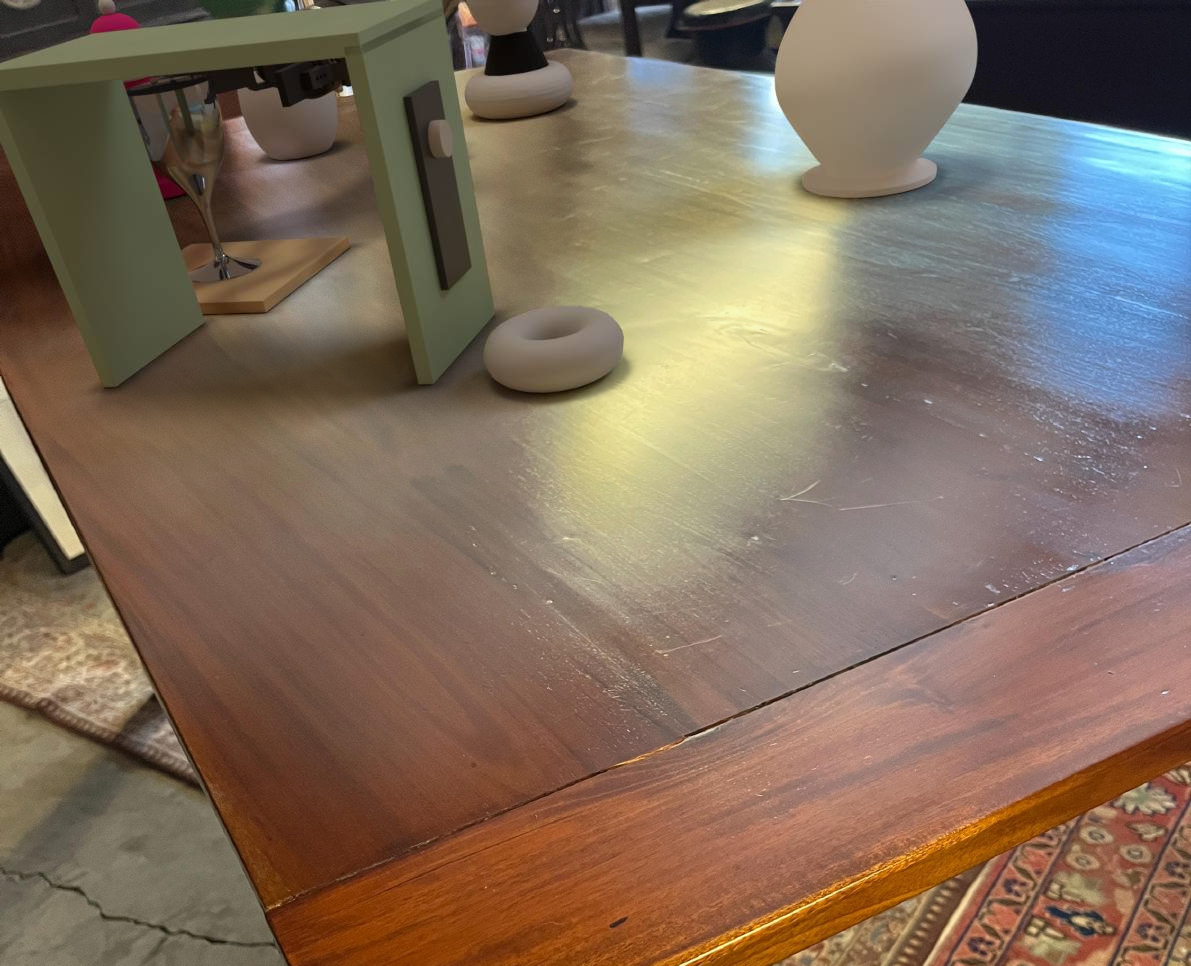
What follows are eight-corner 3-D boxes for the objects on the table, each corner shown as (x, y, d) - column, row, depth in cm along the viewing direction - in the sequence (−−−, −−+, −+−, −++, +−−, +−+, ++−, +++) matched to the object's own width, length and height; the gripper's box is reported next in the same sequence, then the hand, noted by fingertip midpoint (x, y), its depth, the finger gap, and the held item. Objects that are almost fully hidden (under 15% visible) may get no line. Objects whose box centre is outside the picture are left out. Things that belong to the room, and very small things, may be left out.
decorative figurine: (586, 93, 153) (567, -89, 140) (560, 118, 143) (537, -76, 130) (486, 102, 157) (458, -75, 144) (453, 126, 147) (421, -61, 133)
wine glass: (268, 250, 107) (215, 70, 97) (263, 274, 101) (207, 85, 91) (187, 264, 107) (126, 85, 97) (177, 289, 101) (111, 101, 91)
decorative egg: (359, 137, 149) (329, 2, 139) (327, 160, 140) (293, 18, 130) (276, 144, 151) (241, 13, 141) (240, 168, 143) (200, 29, 133)
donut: (469, 371, 81) (517, 413, 73) (460, 323, 78) (508, 361, 71) (592, 336, 83) (650, 374, 76) (587, 289, 81) (646, 322, 73)
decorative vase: (812, 218, 98) (819, -148, 81) (751, 174, 111) (746, -148, 95) (999, 183, 99) (1043, -183, 83) (917, 144, 113) (941, -178, 96)
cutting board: (94, 317, 101) (89, 306, 100) (194, 254, 113) (191, 243, 113) (266, 312, 96) (262, 300, 95) (350, 246, 109) (348, 236, 108)
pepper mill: (175, 200, 133) (107, -1, 120) (128, 201, 135) (57, 5, 122) (210, 183, 138) (149, -12, 124) (164, 185, 140) (99, -6, 127)
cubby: (103, 387, 87) (-30, 72, 72) (193, 322, 96) (92, 33, 82) (452, 384, 79) (380, 29, 64) (512, 313, 88) (461, -8, 74)
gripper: (433, 82, 115) (349, 132, 100) (226, 101, 121) (119, 150, 107) (417, -5, 110) (326, 34, 95) (202, 19, 116) (86, 59, 102)
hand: (216, 95), depth 101 cm, fingers open, 13 cm apart
